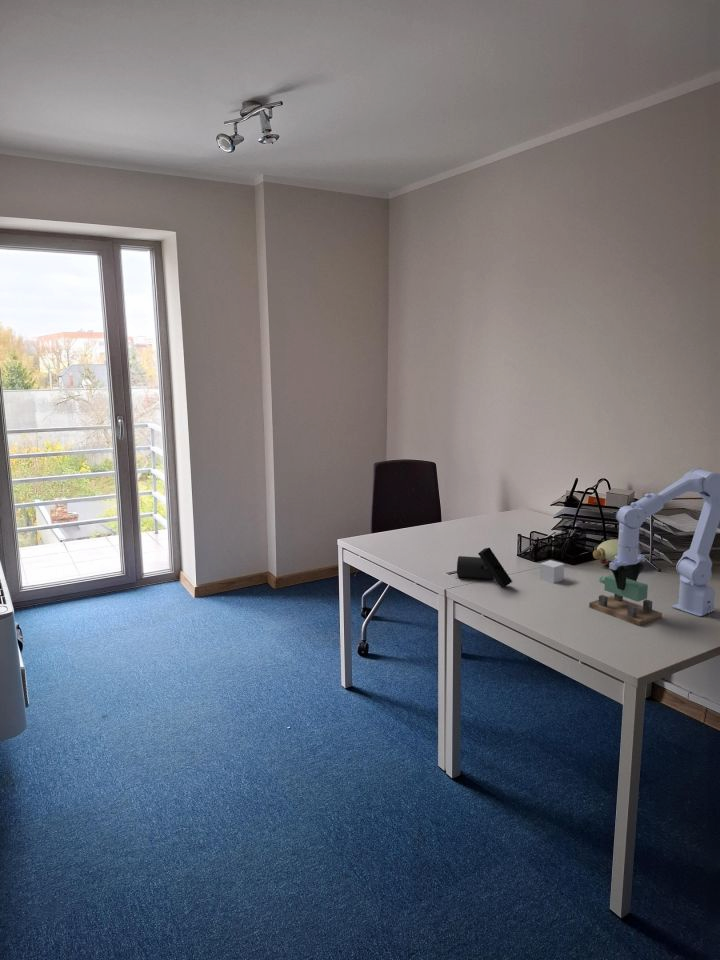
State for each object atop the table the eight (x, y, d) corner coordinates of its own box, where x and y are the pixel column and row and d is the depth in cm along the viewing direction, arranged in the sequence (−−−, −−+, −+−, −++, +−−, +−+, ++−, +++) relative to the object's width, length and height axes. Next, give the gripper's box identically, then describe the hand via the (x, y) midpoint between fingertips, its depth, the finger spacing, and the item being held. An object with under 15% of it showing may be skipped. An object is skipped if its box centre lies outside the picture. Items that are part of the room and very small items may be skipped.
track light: (444, 563, 242) (463, 561, 223) (474, 542, 246) (495, 538, 227) (468, 598, 242) (488, 599, 223) (497, 576, 246) (520, 575, 226)
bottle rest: (661, 617, 199) (662, 603, 198) (639, 626, 193) (639, 611, 192) (611, 599, 214) (612, 586, 213) (589, 607, 208) (589, 593, 207)
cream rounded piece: (648, 567, 244) (607, 574, 239) (621, 555, 259) (581, 562, 254) (649, 543, 242) (607, 550, 238) (621, 532, 257) (581, 539, 253)
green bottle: (646, 598, 198) (647, 584, 198) (637, 601, 196) (638, 587, 195) (605, 584, 211) (606, 571, 210) (596, 587, 209) (597, 574, 208)
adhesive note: (563, 579, 234) (564, 563, 233) (553, 583, 230) (554, 567, 229) (549, 575, 238) (550, 559, 237) (539, 579, 235) (539, 563, 234)
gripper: (631, 538, 206) (629, 579, 209) (601, 546, 199) (599, 588, 201) (651, 543, 200) (649, 585, 203) (621, 551, 193) (619, 595, 195)
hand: (625, 587), depth 202 cm, fingers closed on green bottle, 4 cm apart
